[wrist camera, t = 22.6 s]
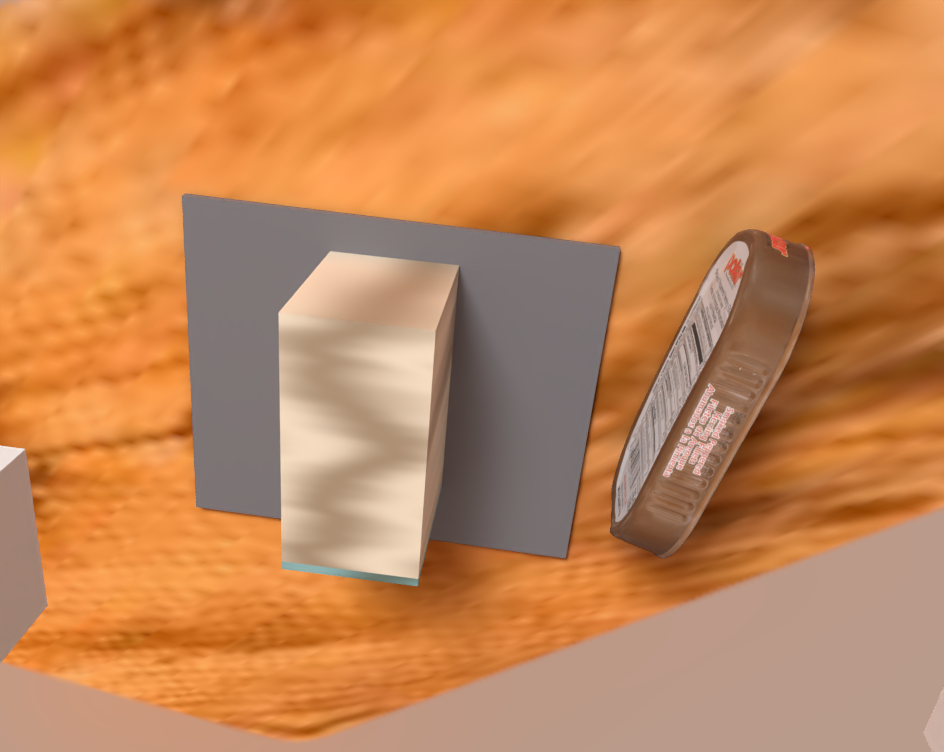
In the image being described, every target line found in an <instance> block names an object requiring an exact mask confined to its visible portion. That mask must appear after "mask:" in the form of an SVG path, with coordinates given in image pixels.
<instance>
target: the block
mask: <svg viewBox="0 0 944 752" xmlns="http://www.w3.org/2000/svg"><path fill="white" fill-rule="evenodd" d="M458 275H459V265H451V264H442V263H433V262H423V261H414V260H405V259H396V258H387V257H378V256H369V255H360V254H351V253H342V252H332V251H330V252H329V253H328V254H327V256H326V257H325V258H324V259H323V260H322V262H321V263H320V264H319V265H318V266H317V267H316V269H315V270H314V271H313V272H312V273H311V275H310V276H309V277H308V278H307V279H306V281H305V282H304V283H303V284H302V285H301V287H300V288H299V289H298V290H297V291H296V292H295V294H294V295H293V296H292V297H291V298H290V300H289V301H288V302H287V303H286V304H285V306H284V307H283V308H282V309H281V310H280V311H279V386H280V461H281V535H282V569H288V570H295V571H303V572H311V573H319V574H326V575H334V576H342V577H349V578H357V579H365V580H372V581H380V582H388V583H396V584H403V585H411V586H418V584H419V579H420V575H421V571H422V567H423V563H424V559H425V555H426V550H427V546H428V542H429V538H430V534H431V530H432V525H433V521H434V517H435V513H436V509H437V505H438V500H439V496H440V492H441V488H442V476H443V464H444V451H445V438H446V426H447V413H448V401H449V388H450V376H451V363H452V351H453V338H454V325H455V313H456V300H457V288H458Z"/></svg>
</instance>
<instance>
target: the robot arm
mask: <svg viewBox="0 0 944 752" xmlns="http://www.w3.org/2000/svg"><path fill="white" fill-rule="evenodd" d="M47 606H48V605H47V598H46V591H45V584H44V577H43V570H42V563H41V556H40V549H39V542H38V535H37V528H36V521H35V514H34V507H33V500H32V493H31V486H30V478H29V471H28V464H27V457H26V450H25V449H21V448H13V447H6V446H0V663H1V662H2V661H3V659H4V658H5V657H6V656H7V655H8V653H9V652H10V651H11V650H12V648H13V647H14V646H15V645H16V644H17V642H18V641H19V640H20V639H21V637H22V636H23V635H24V634H25V633H26V631H27V630H28V629H29V628H30V626H31V625H32V624H33V623H34V622H35V620H36V619H37V618H38V617H39V615H40V614H41V613H42V612H43V610H44V609H45V608H46V607H47ZM923 734H924V736H925V738H926V740H927V742H928V744H929V747H930V749H931V751H932V752H944V687H943V690H942V692H941V694H940V697H939V699H938V701H937V704H936V706H935V708H934V710H933V712H932V715H931V717H930V719H929V721H928V724H927V726H926V728H925V731H924V733H923Z"/></svg>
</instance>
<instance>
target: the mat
mask: <svg viewBox="0 0 944 752" xmlns="http://www.w3.org/2000/svg"><path fill="white" fill-rule="evenodd" d="M182 206H183V228H184V250H185V271H186V293H187V315H188V337H189V358H190V380H191V402H192V424H193V445H194V467H195V489H196V507H200V508H207V509H215V510H222V511H229V512H236V513H243V514H250V515H258V516H265V517H272V518H279V519H281V461H280V386H279V311H280V310H281V309H282V308H283V307H284V306H285V304H286V303H287V302H288V301H289V300H290V298H291V297H292V296H293V295H294V294H295V292H296V291H297V290H298V289H299V288H300V287H301V285H302V284H303V283H304V282H305V281H306V279H307V278H308V277H309V276H310V275H311V273H312V272H313V271H314V270H315V269H316V267H317V266H318V265H319V264H320V263H321V262H322V260H323V259H324V258H325V257H326V256H327V254H328V253H329V252H330V251H332V252H342V253H351V254H360V255H369V256H378V257H387V258H396V259H405V260H414V261H423V262H433V263H442V264H451V265H459V275H458V288H457V300H456V313H455V325H454V338H453V351H452V363H451V376H450V388H449V401H448V413H447V426H446V438H445V451H444V464H443V476H442V488H441V492H440V496H439V500H438V505H437V509H436V513H435V517H434V521H433V525H432V530H431V534H430V538H429V539H430V540H437V541H444V542H451V543H459V544H466V545H473V546H480V547H487V548H494V549H502V550H509V551H516V552H523V553H530V554H538V555H545V556H552V557H559V558H566V554H567V548H568V543H569V537H570V531H571V526H572V520H573V514H574V509H575V503H576V497H577V492H578V486H579V480H580V475H581V469H582V463H583V458H584V452H585V446H586V441H587V435H588V429H589V424H590V418H591V412H592V407H593V401H594V395H595V390H596V384H597V378H598V373H599V367H600V361H601V356H602V350H603V344H604V339H605V333H606V327H607V322H608V316H609V310H610V305H611V299H612V293H613V288H614V282H615V276H616V271H617V265H618V259H619V254H620V247H618V246H610V245H602V244H594V243H586V242H577V241H569V240H561V239H553V238H545V237H536V236H528V235H520V234H512V233H504V232H496V231H487V230H479V229H471V228H463V227H455V226H446V225H438V224H430V223H422V222H414V221H405V220H397V219H389V218H381V217H373V216H365V215H356V214H348V213H340V212H332V211H324V210H315V209H307V208H299V207H291V206H283V205H275V204H266V203H258V202H250V201H242V200H234V199H225V198H217V197H209V196H201V195H193V194H184V195H182Z"/></svg>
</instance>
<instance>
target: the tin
mask: <svg viewBox="0 0 944 752" xmlns="http://www.w3.org/2000/svg"><path fill="white" fill-rule="evenodd" d="M814 276H815V263H814V257H813V253H812V251H811V249H810V248H809V247H808V246H807V245H805V244H795V243H792V242H789V241H787V240H784V239H782V238H779V237H777V236H774V235H771V234H769V233H766V232H763V231H759V230H752V229H748V230H744V231H741V232H739V233H737V234H736V235H735V236H733V237H732V238H731V239H730V241H729V242H728V243H727V244H726V245H725V246H724V248H723V249H722V250H721V252H720V253H719V255H718V256H717V258H716V259H715V261H714V262H713V264H712V266H711V267H710V269H709V271H708V272H707V274H706V276H705V278H704V280H703V282H702V284H701V285H700V288H699V290H698V292H697V294H696V296H695V298H694V300H693V302H692V304H691V306H690V308H689V310H688V311H687V313H686V315H685V317H684V319H683V321H682V323H681V325H680V327H679V329H678V331H677V333H676V335H675V337H674V339H673V341H672V343H671V345H670V347H669V349H668V351H667V353H666V355H665V357H664V359H663V361H662V363H661V365H660V367H659V369H658V371H657V374H656V376H655V378H654V380H653V382H652V384H651V386H650V388H649V390H648V392H647V394H646V397H645V399H644V401H643V403H642V405H641V407H640V409H639V411H638V413H637V416H636V418H635V420H634V423H633V425H632V427H631V430H630V432H629V435H628V437H627V440H626V442H625V445H624V448H623V450H622V453H621V456H620V459H619V462H618V466H617V469H616V472H615V476H614V480H613V485H612V512H611V528H610V533H611V534H612V535H613V536H615V537H617V538H619V539H621V540H623V541H625V542H627V543H630V544H632V545H635V546H638V547H640V548H643V549H645V550H648V551H651V552H653V553H654V554H655V555H656V556H657V557H659V558H667V557H669V556H671V555H672V554H674V553H675V552H676V551H677V550H678V549H679V548H680V547H681V546H682V545H683V543H684V542H685V541H686V539H687V538H688V536H689V535H690V534H691V532H692V530H693V529H694V527H695V526H696V524H697V522H698V521H699V519H700V517H701V515H702V513H703V512H704V510H705V508H706V506H707V505H708V503H709V501H710V499H711V497H712V496H713V494H714V492H715V490H716V489H717V487H718V485H719V483H720V482H721V480H722V478H723V476H724V475H725V473H726V471H727V469H728V467H729V466H730V464H731V462H732V460H733V458H734V456H735V455H736V453H737V451H738V449H739V448H740V446H741V444H742V443H743V441H744V439H745V437H746V436H747V434H748V432H749V430H750V428H751V427H752V425H753V423H754V421H755V420H756V418H757V416H758V414H759V413H760V411H761V409H762V407H763V405H764V404H765V402H766V400H767V398H768V397H769V395H770V393H771V392H772V390H773V388H774V387H775V385H776V383H777V381H778V379H779V377H780V376H781V374H782V372H783V370H784V368H785V366H786V364H787V362H788V360H789V358H790V356H791V353H792V351H793V349H794V346H795V344H796V341H797V339H798V337H799V334H800V331H801V329H802V325H803V322H804V319H805V316H806V314H807V309H808V306H809V303H810V299H811V294H812V290H813V283H814Z"/></svg>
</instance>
